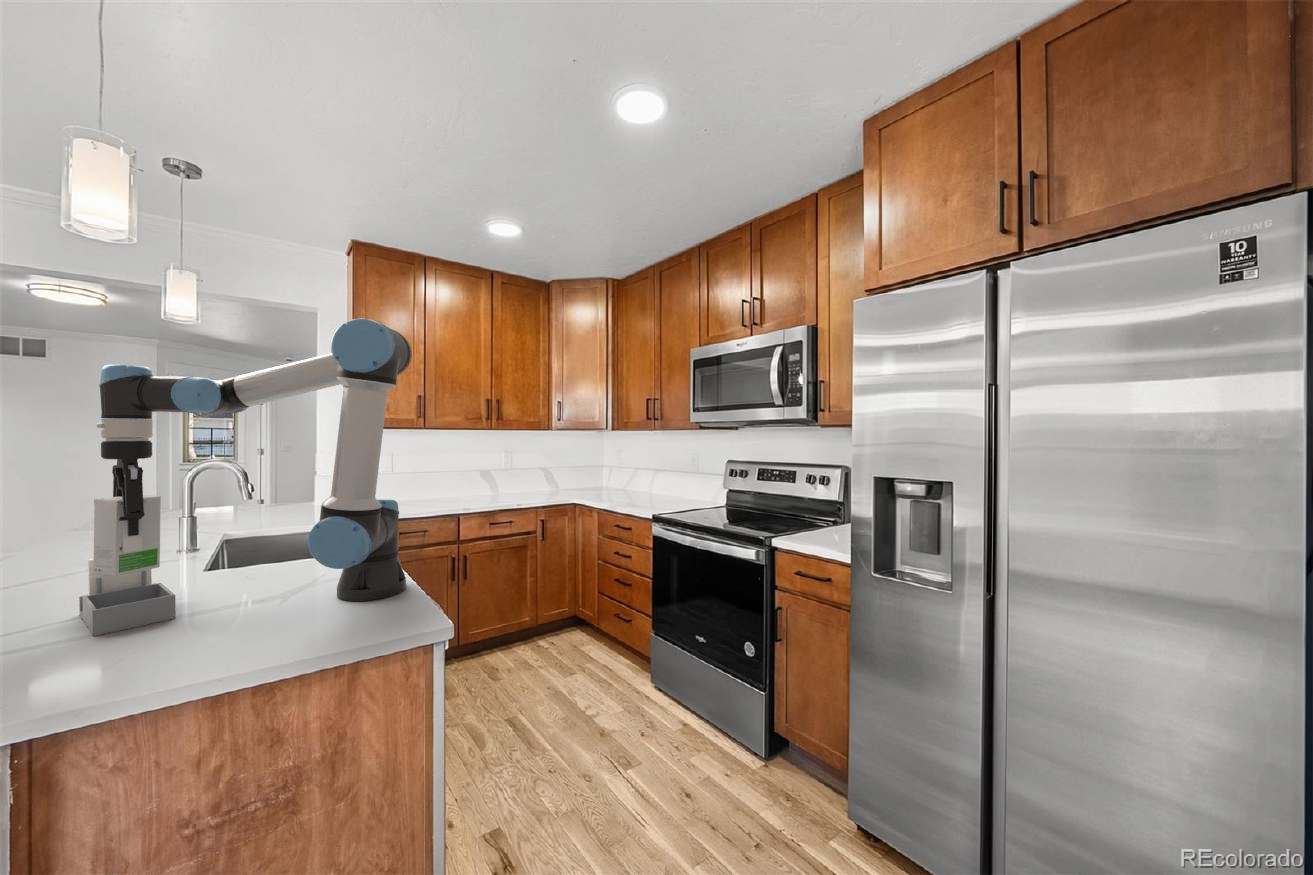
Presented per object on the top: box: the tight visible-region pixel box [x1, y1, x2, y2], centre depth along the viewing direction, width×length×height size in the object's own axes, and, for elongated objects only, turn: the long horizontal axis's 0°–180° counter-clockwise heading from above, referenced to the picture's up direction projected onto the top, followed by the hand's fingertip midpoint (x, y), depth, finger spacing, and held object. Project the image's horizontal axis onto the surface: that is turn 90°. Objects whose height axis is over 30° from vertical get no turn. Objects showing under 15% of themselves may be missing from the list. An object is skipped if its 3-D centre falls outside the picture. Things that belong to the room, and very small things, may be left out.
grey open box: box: [78, 558, 176, 637], centre depth 111 cm, size 18×12×12 cm, turn 53°
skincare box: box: [93, 494, 162, 576], centre depth 109 cm, size 8×7×16 cm
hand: (128, 547), depth 109 cm, fingers closed on skincare box, 8 cm apart
